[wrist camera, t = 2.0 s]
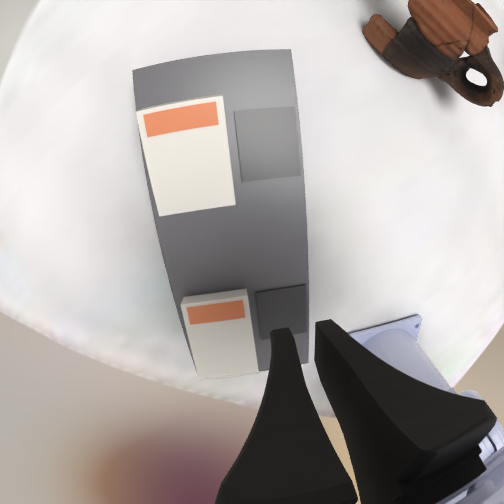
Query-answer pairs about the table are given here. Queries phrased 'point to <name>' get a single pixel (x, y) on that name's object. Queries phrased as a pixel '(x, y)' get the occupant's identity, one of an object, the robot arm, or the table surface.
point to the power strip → (242, 193)
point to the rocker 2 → (220, 334)
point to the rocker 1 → (187, 154)
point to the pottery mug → (442, 46)
